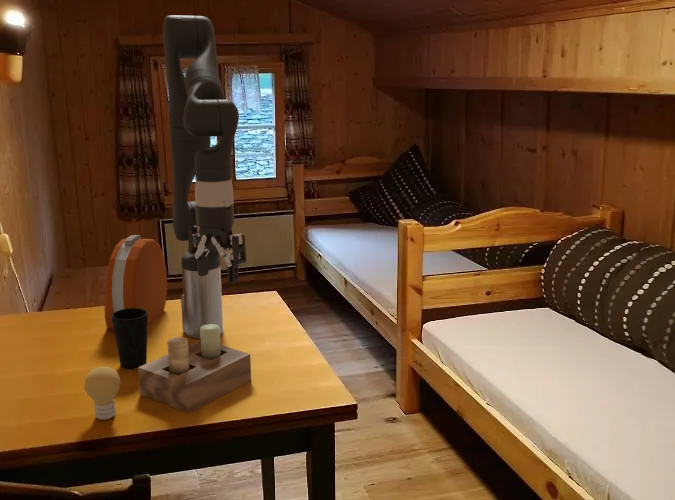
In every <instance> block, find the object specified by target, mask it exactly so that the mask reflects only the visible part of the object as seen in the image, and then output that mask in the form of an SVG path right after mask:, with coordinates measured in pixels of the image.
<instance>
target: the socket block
mask: <svg viewBox="0 0 675 500" xmlns="http://www.w3.org/2000/svg"><path fill="white" fill-rule="evenodd" d="M220 348H221V356H219V357H217V358H215V359H212V360H209V359H206V358H203V357H202V355H201V339H200V340H198V341H195V342H194V343H191V344H188V353H189V371H187V372H185V373H182V374H180V375H176V374H173V373H170V372H169V362H168V354H166V355H163V356H161V357H158V358H157V359H154V360H152V361H150V362H146V364H144V365H142V366H140V367H138V369H137V372H138V380H139V381H138V383H139V394H140V395H141V396H143V397H146V398H148V399H151V400H154V401H156V402H158V403H161V404H164V405H166V406H169V407H171V408H174V409H176V410H179V411H181V412H184V413H187V414H190V413H192V412H194V411H196V410H198V409H200V408H201V407H203V406H206V405H207V404H209V403H211V402H213V401H214V400H217V399H218V398H221V397H222V396H225V395H226V394H228V393H230V392H232V391H233V390H235V389H238V388H239V387H241V386H243V385H244V384H247V383H249V382H251V381H252V365H251V364H252V363H251V362H252V361H251V353H248V352H245V351H242V350H238V349H236V348H231V347H228V346H225V345H222V344H220Z"/></svg>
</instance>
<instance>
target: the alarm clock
mask: <svg viewBox="0 0 675 500" xmlns="http://www.w3.org/2000/svg"><path fill="white" fill-rule="evenodd" d="M167 275H168V274H167V266H166V260H165V255H164V253H163V250H162V247H161V246H160V244H159V243H158V242H157V241H156V240H155V239H153V238H142V237H141V235H140V234H139V235H138V234H134V235H133V234H132V235H129V236H128V237H126V238H122V239H121V240H120V241H119V242H118V243H117V244H116V245H115V247H114V249H113V251H112V253H111V256H110V258H109V262H108V267H107V271H106V278H105V279H106V280H105V286H104V287H105V289H104V320H105V325H106V328H107V330H114V328H113V322H112V317H111V316H112V314H113V313H114V312H116V311H118V310H122V309H128V308H140V309H144V310H146V311H147V312H148V319H147V328H148V327H149V326H150V325H151V324H152V323H154V322H155V321H156V320H157V319H158V318H159V317H160V316H161V315H163V313H164V311H165V307H166V302H167V294H168V293H167V290H168V277H167Z"/></svg>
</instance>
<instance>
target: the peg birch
mask: <svg viewBox="0 0 675 500" xmlns="http://www.w3.org/2000/svg"><path fill="white" fill-rule="evenodd" d="M166 345H167V355H168V362H169V372H170V373H173V374H176V375H180V374H182V373H185V372H187V371H189V353H188V346H189V340H188V338H186V337H182V336H180V337H179V336H178V337H177V336H176V337H171V338H169V339H168V340H167V343H166Z"/></svg>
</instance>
